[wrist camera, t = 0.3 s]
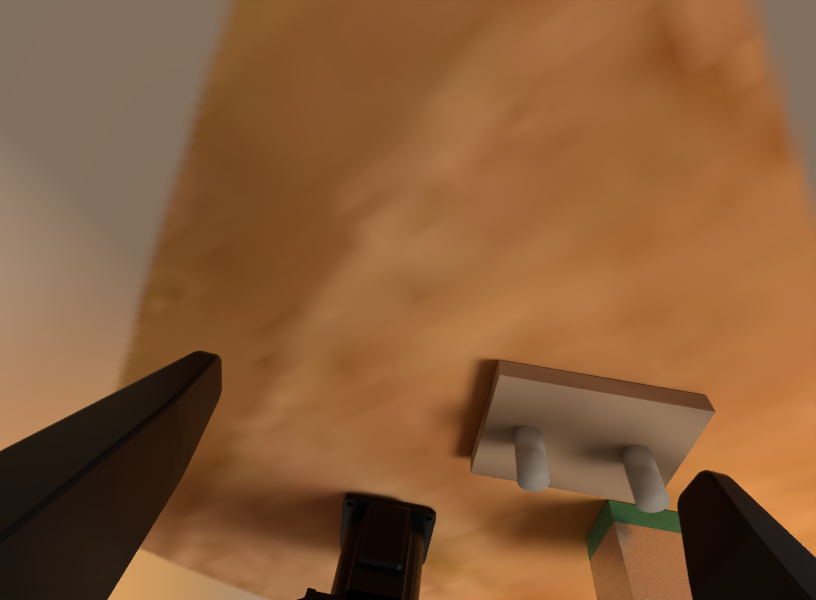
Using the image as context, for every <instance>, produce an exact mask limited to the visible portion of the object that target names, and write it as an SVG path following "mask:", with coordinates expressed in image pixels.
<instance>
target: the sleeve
mask: <svg viewBox="0 0 816 600" xmlns="http://www.w3.org/2000/svg"><path fill="white" fill-rule="evenodd" d="M586 545H587V550H588V555H589V560H590V565H591V570H592V576H593V581H594V586H595V591H596V596H597V600H693V599H692V595H691V590H690V585H689V580H688V573H687V567H686V560H685V554H684V548H683V541H682V535H681V529H680V522H679V516H678V512H673V511H668V510H662V511H660V512H655V513H648V512H643V511H641V510H639V509H638V508H637V507H636V505H634V504H629V503H623V502H618V501H612V500H608V501H607V503H606V505H605V507H604V508H603V510H602V512H601V514H600V515H599V517H598V519H597V521H596V522H595V524H594V526H593V528H592V529H591V531H590V533H589V535H588V536H587V538H586Z"/></svg>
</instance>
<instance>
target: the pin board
mask: <svg viewBox="0 0 816 600" xmlns="http://www.w3.org/2000/svg"><path fill="white" fill-rule="evenodd" d="M714 414H715V410H714V408H713V407H712V405H711V403H710V401H709V400H708V398H707V396H706V395H701V394H695V393H689V392H683V391H677V390H672V389H666V388H660V387H654V386H648V385H642V384H636V383H631V382H625V381H619V380H613V379H607V378H601V377H595V376H590V375H584V374H578V373H572V372H566V371H560V370H554V369H549V368H543V367H537V366H531V365H525V364H519V363H513V362H508V361H502V360H499V362H498V365H497V368H496V372H495V375H494V379H493V382H492V386H491V389H490V393H489V396H488V400H487V403H486V406H485V410H484V413H483V417H482V420H481V424H480V427H479V431H478V434H477V438H476V441H475V444H474V448H473V451H472V455H471V473H473V474H479V475H484V476H490V477H495V478H501V479H506V480H512V481H517V482H518V485H519V486H520V487H521V488H522V489H524V490H527V491H533V492H534V491H541V490H544V489H545V488H547V487H551V488H556V489H562V490H567V491H573V492H578V493H584V494H589V495H595V496H601V497H606V498H612V499H617V500H623V501H628V502H634V503H635V504H636V507H637V508H638V509H639V510H641V511H643V512H648V513H655V512H660V511H662V510H664V509H666V508H667V507H668V506H669V504H670V500H669V497H668V494H667V492H666V489H665V487H666V486H667V484H668V483H669V481H670V480H671V478H672V477H673V475H674V474H675V472H676V471H677V469H678V468H679V466H680V465H681V463H682V462H683V460H684V459H685V457H686V456H687V454H688V453H689V451H690V450H691V448H692V447H693V445H694V444H695V442H696V441H697V439H698V438H699V436H700V435H701V433H702V432H703V430H704V429H705V427H706V426H707V424H708V423H709V421H710V420H711V418H712V417H713V415H714Z"/></svg>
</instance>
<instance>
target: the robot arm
mask: <svg viewBox="0 0 816 600" xmlns="http://www.w3.org/2000/svg"><path fill="white" fill-rule="evenodd" d="M221 391H222V363H221V358H220V356H218V355H217V354H213V353H208V352H204V351H195V352H193V353H191V354H189V355H187V356H185V357H183V358H181V359H179V360H177V361H175V362H173V363H171V364H169V365H167V366H165V367H163V368H161V369H159V370H158V371H156V372H154V373H152V374H150V375H148V376H146V377H144V378H142V379H140V380H138V381H136V382H134V383H132V384H130V385H128V386H126V387H124V388H122V389H120V390H118V391H116V392H114V393H113V394H111V395H109V396H107V397H105V398H103V399H101V400H99V401H97V402H95V403H93V404H91V405H89V406H88V407H85V408H83V409H81V410H79V411H77V412H75V413H74V414H72V415H69V416H68V417H66V418H64V419H62V420H60V421H58V422H56V423H54V424H52V425H50V426H48V427H46V428H44V429H42V430H40V431H38V432H36V433H34V434H33V435H30V436H29V437H26V438H24V439H23V440H21V441H19V442H17V443H15V444H13V445H11V446H9V447H7V448H5V449H3V450H1V451H0V600H107V599H108V598H109V596H110V595H111V593H112V591H113V590H114V588H115V586H116V585H117V583H118V582H119V580H120V578H121V577H122V575H123V573H124V572H125V570H126V568H127V567H128V565H129V563H130V562H131V560H132V559H133V557H134V555H135V554H136V552H137V550H138V549H139V547H140V546H141V544H142V542H143V541H144V539H145V537H146V536H147V534H148V533H149V531H150V529H151V528H152V526H153V524H154V523H155V521H156V519H157V518H158V516H159V515H160V513H161V511H162V510H163V508H164V506H165V505H166V503H167V501H168V500H169V498H170V497H171V495H172V493H173V492H174V490H175V488H176V487H177V485H178V483H179V482H180V480H181V478H182V476H183V475H184V473H185V471H186V469H187V467H188V465H189V463H190V461H191V458H192V456H193V454H194V452H195V450H196V448H197V446H198V443H199V441H200V439H201V437H202V435H203V433H204V431H205V429H206V426H207V424H208V422H209V420H210V418H211V416H212V414H213V412H214V409H215V407H216V405H217V403H218V401H219V398H220V395H221ZM677 508H678V516H679V522H680V529H681V535H682V541H683V548H684V554H685V560H686V567H687V573H688V580H689V585H690V590H691V595H692V599H693V600H816V557H815V556H813V555H812V554H811V553H810V552H809V551H808V550H807V549H806V548H805V547H804V546H803V545H802V544H801V543H800V542H799V541H798V540H796V539H795V538H794V537H793V536H792V535H791V534H790V533H789V532H788V531H787V530H786V529H785V528H784V527H783V526H782V525H781V524H779V523H778V522H777V521H776V520H775V519H774V518H773V517H772V516H771V515H770V514H769V513H768V512H767V511H766V510H765V509H764V508H762V507H761V506H760V505H759V504H758V503H757V502H756V501H755V500H754V499H753V498H752V497H751V496H750V495H749V494H748V493H747V492H745V491H744V490H743V489H742V488H741V487H740V486H739V485H738V484H737V483H736V482H735V481H734V480H733V479H732V478H730V477H729V476H727V475H725V474H721V473H717V472H713V471H709V470H703V471H701V472H699V473H698V474H697V475H696V477H695V478H694V479H693V480H692V481H691V483H690V484H689V485H688V486H687V487H686V489H685V490H684V491H683V492H682V493H681V495H680V497H679V499H678V506H677ZM435 521H436V512H435V511H434V510H432V509H427V508H422V507H416V506H411V505H405V504H400V503H394V502H389V501H384V500H378V499H373V498H367V497H362V496H356V495H346V496H345V498H344V502H343V513H342V527H341V541H340V548H341V553H340V557H339V561H338V565H337V569H336V573H335V577H334V581H333V585H332V589H331V593H330V594H327V593H322V592H318V591H316V589H311V588H308V589H307V592H306V595H305V597H304V598H301V599H297V600H419V593H420V582H421V572H422V564H424V563H425V560H426V556H427V552H428V548H429V544H430V540H431V536H432V532H433V528H434V525H435Z"/></svg>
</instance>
